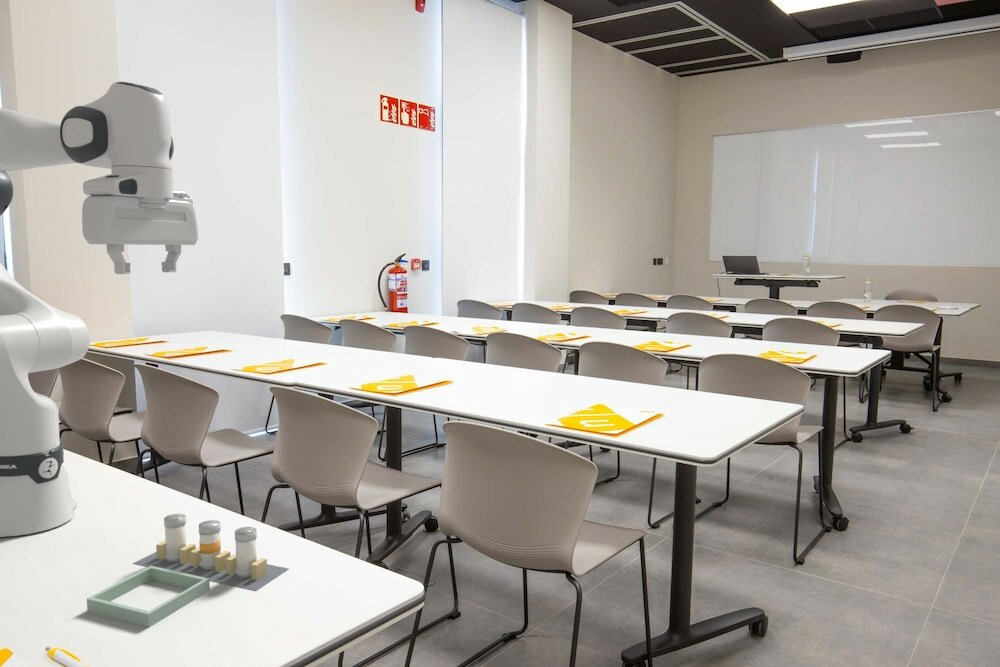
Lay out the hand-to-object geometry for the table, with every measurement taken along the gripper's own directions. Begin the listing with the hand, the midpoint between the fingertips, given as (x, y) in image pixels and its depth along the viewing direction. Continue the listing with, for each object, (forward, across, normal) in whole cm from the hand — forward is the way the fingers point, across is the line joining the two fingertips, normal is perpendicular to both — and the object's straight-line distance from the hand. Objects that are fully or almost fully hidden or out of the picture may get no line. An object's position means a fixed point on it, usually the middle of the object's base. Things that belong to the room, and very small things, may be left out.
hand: (146, 273), depth 118 cm
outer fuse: (+46, +4, +22) cm, 51 cm away
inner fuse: (+46, +4, +8) cm, 47 cm away
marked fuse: (+46, +4, +15) cm, 48 cm away
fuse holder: (+47, +4, +15) cm, 50 cm away
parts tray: (+47, +16, +15) cm, 52 cm away
